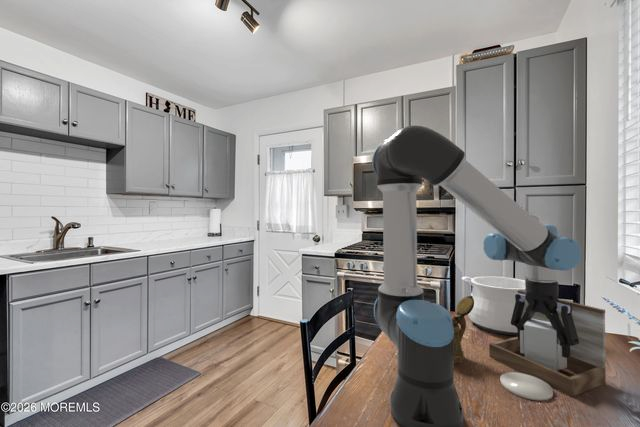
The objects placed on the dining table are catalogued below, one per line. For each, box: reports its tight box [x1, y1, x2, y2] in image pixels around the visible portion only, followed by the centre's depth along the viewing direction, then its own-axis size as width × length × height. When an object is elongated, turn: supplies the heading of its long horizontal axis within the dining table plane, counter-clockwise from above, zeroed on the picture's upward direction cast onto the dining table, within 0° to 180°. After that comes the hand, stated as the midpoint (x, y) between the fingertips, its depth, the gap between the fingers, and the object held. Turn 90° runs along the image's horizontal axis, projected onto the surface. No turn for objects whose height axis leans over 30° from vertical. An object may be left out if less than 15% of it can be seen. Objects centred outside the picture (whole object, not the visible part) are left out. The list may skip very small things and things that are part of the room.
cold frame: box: [488, 290, 607, 397], centre depth 85 cm, size 14×22×19 cm, turn 22°
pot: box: [461, 275, 526, 337], centre depth 118 cm, size 28×24×17 cm
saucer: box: [499, 371, 554, 402], centre depth 77 cm, size 11×11×1 cm
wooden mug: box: [452, 295, 474, 364], centre depth 94 cm, size 9×14×18 cm, turn 102°
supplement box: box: [524, 319, 560, 373], centre depth 85 cm, size 7×7×13 cm
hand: (542, 359), depth 85 cm, fingers closed on supplement box, 9 cm apart
